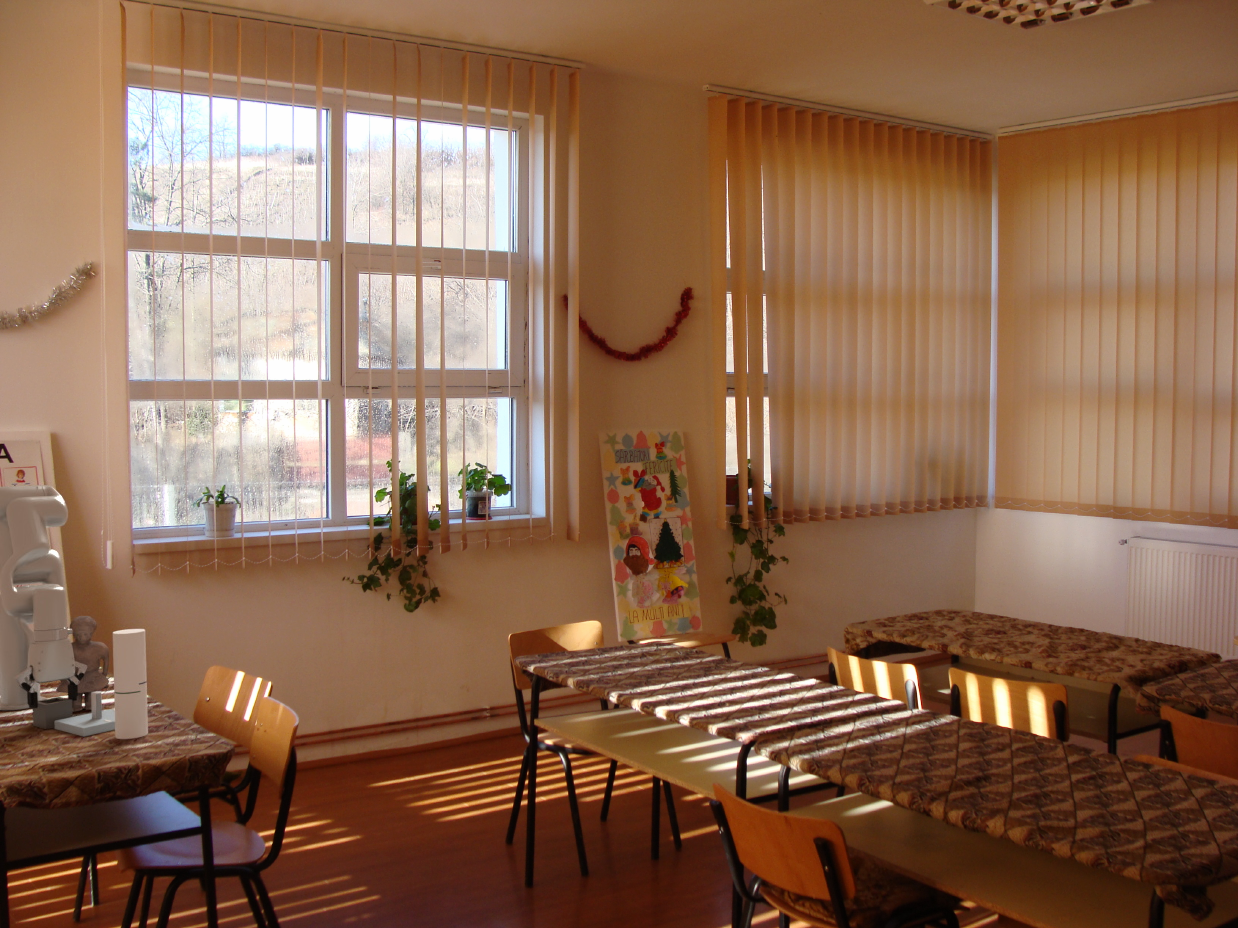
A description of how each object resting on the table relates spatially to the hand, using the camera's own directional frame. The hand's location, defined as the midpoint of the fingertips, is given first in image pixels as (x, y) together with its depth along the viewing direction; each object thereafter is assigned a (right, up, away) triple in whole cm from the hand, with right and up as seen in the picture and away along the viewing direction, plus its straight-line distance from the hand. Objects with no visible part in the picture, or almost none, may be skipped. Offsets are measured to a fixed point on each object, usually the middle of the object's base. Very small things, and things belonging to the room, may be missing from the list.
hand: (53, 703), depth 269 cm
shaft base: (+12, -5, -2) cm, 13 cm away
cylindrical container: (+25, -5, -12) cm, 28 cm away
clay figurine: (-1, -5, +17) cm, 18 cm away
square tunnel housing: (0, -5, +1) cm, 5 cm away
